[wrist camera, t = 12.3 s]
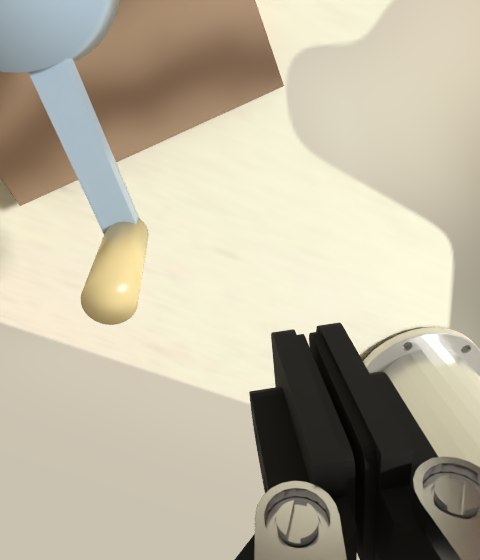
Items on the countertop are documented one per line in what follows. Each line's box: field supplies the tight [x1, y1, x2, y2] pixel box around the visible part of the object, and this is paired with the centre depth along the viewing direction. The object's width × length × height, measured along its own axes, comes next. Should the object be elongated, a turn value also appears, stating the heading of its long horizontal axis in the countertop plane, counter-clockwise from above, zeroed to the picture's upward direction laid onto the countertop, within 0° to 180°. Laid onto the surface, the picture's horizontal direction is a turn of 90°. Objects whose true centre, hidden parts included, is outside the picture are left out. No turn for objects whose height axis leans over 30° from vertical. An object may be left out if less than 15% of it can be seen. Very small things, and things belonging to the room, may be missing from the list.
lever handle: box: [0, 0, 148, 325], centre depth 16 cm, size 15×7×9 cm, turn 16°
